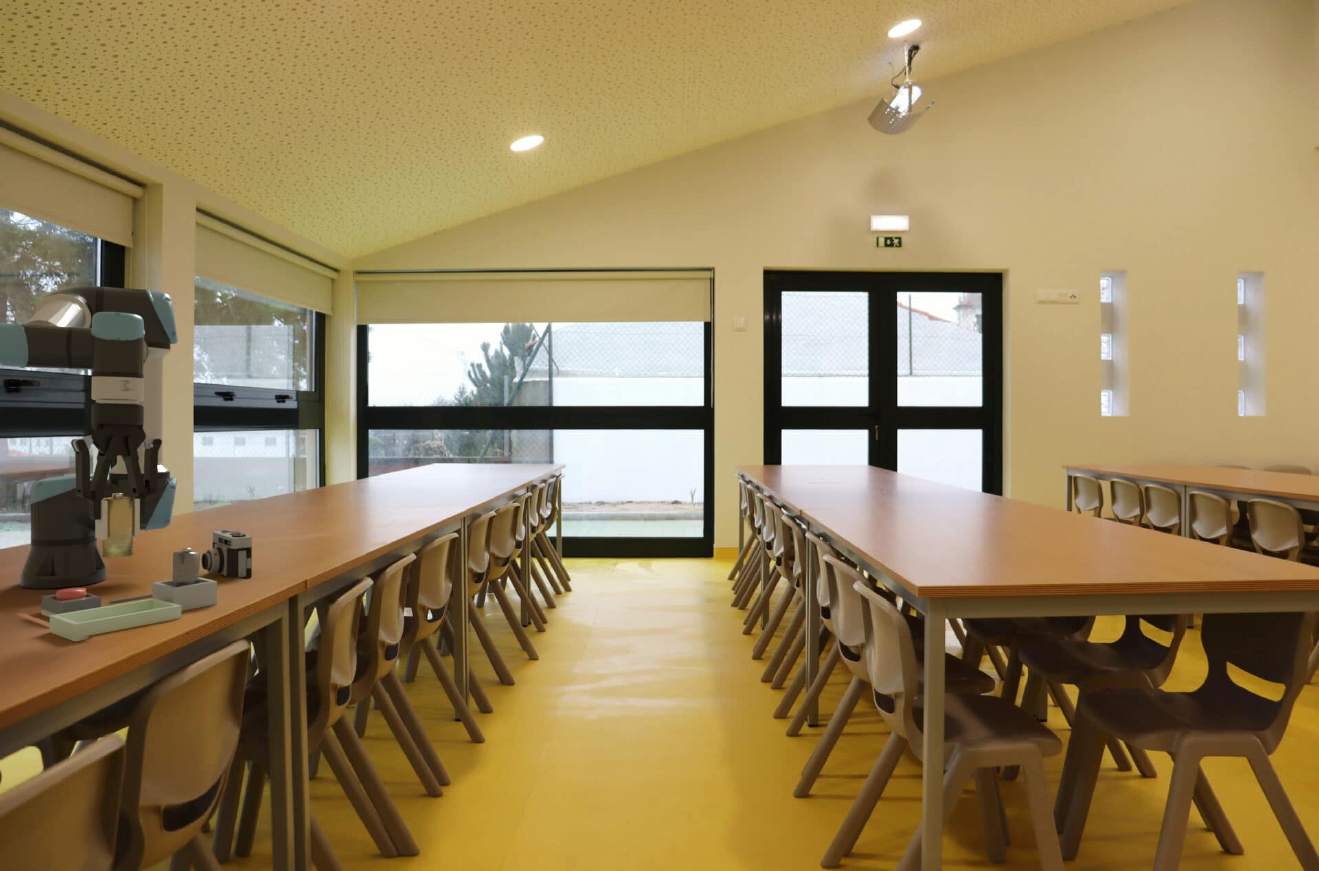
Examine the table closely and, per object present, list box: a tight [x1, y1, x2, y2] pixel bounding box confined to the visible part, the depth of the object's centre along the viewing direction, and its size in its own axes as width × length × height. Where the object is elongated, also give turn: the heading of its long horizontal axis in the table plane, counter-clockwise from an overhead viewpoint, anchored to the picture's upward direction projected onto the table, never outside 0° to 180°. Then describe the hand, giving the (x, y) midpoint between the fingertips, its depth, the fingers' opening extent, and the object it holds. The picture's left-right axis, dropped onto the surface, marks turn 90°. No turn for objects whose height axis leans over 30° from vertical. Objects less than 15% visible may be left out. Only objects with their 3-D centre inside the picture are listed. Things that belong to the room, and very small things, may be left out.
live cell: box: [101, 493, 134, 559], centre depth 140 cm, size 4×4×11 cm
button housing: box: [40, 592, 102, 618], centre depth 147 cm, size 9×7×4 cm
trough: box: [49, 598, 182, 642], centre depth 141 cm, size 10×17×3 cm, turn 147°
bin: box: [151, 576, 218, 612], centre depth 154 cm, size 8×8×5 cm
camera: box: [201, 529, 253, 580], centre depth 185 cm, size 14×8×10 cm, turn 46°
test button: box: [55, 587, 87, 601], centre depth 147 cm, size 4×4×2 cm
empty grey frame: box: [109, 593, 152, 604], centre depth 156 cm, size 8×10×1 cm
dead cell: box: [171, 547, 201, 587], centre depth 154 cm, size 4×4×11 cm
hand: (117, 536), depth 140 cm, fingers closed on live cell, 4 cm apart
